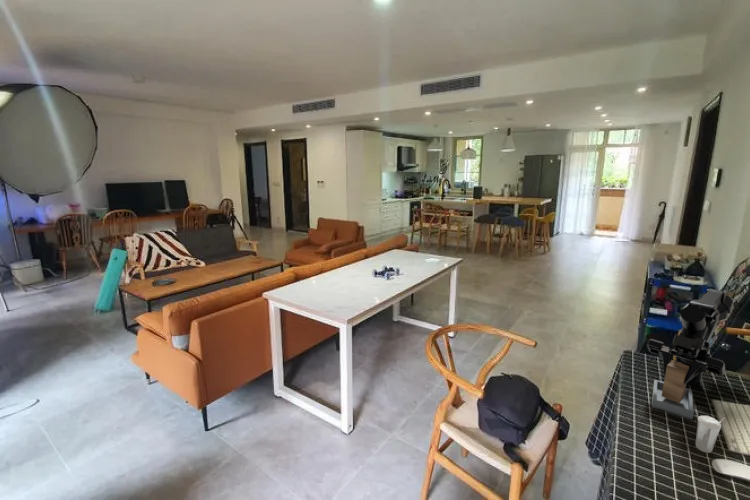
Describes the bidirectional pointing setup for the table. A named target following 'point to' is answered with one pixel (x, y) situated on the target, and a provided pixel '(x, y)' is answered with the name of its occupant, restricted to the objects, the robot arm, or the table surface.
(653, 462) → the table surface
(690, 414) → the tray
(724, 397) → the table surface
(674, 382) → the block
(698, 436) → the milkshake
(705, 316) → the robot arm
